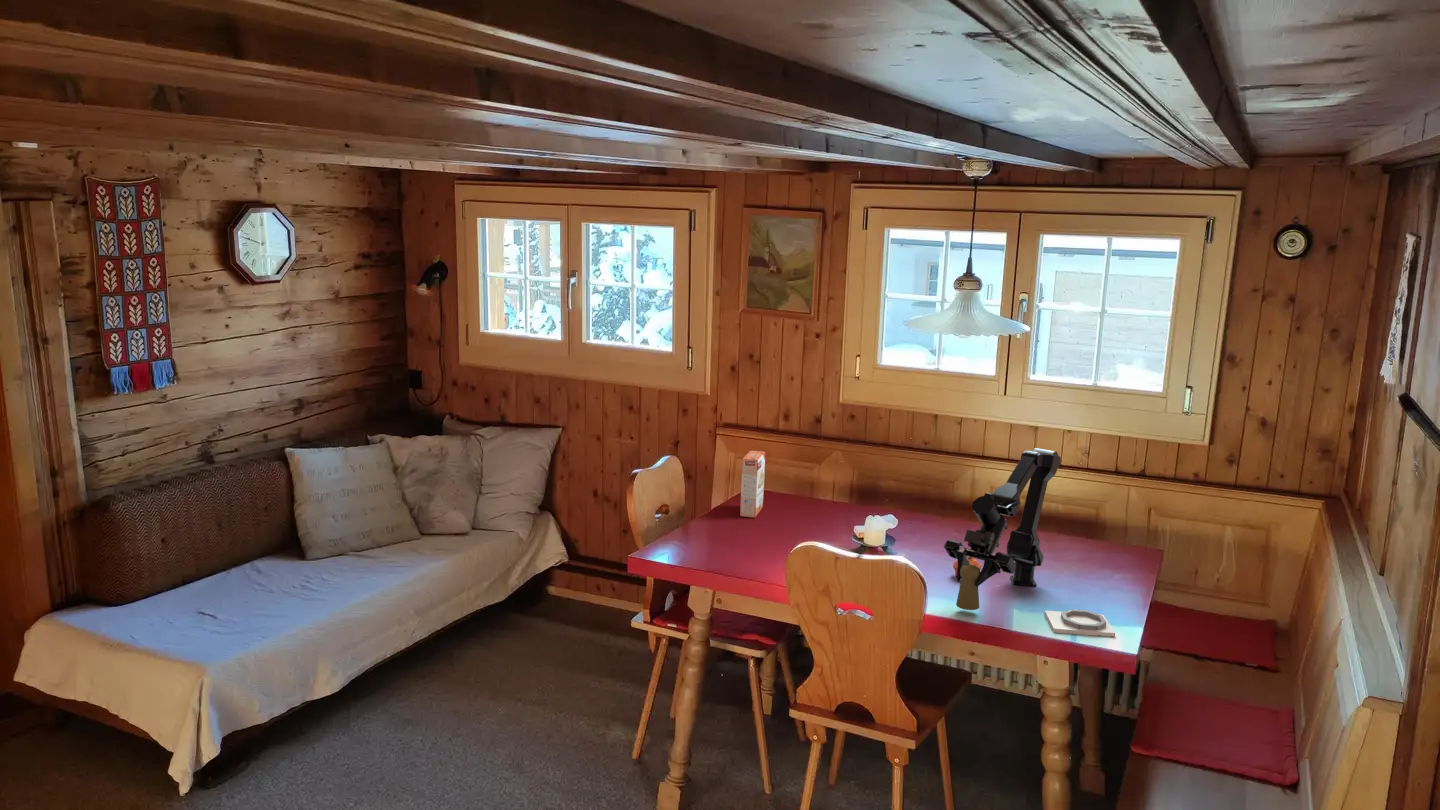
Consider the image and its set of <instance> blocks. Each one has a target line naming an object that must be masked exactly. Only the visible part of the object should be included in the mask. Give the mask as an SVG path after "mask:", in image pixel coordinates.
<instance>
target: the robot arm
mask: <svg viewBox="0 0 1440 810" xmlns="http://www.w3.org/2000/svg"><path fill="white" fill-rule="evenodd" d="M1061 461H1062V460H1061V456H1060V455H1059V454H1058V452H1057V451H1055V450H1049V449H1044V448H1038V447H1034V449H1033V450H1024V451H1023V452H1021V456H1020V459H1019V461H1018V462H1017V464H1016V466H1015V467H1014V469H1013V471H1012V472H1011V474H1010V475H1009V477H1008V478H1007V481H1006V482H1005V483H1004V484H1003V485H1001V486H998V487H997V488H995V490H994V491H993V492H992V493H989V492H984V494H983V496H978V497H977V498H976V499H975V500H973V502H972V505H971V507H972V510H973V512H974V514H975V515H976V518H977V519H978V521H979V522H980V524H981V526H980V528H979V529H975V530H970V529H966V531H965V533H964V538H963V542H967V546H968V547H969V548H966V547H965V546H964V545H963V543H962V542H961V541H958V540H954V539H948V540H946V541H945V543H944V545H943V548H944V549H945V551H946V553H947V554H948V557H950V558H952V559H955V560H956V561H957V560H958V569H957V576H956V581H957V582H961V579H962V577H961V575H960V569H961V567H962V566H964V565H969V564H970V563H969V562H968V560H967V558H968V557H973V558H974V559H975V560H981V561H983V565H982V567H981V569H980V574H979V576H978V578H977V580H976V583H975V586H976V587H978V588H979V586H981V585H982V584H983V583H985V582H986V581H987V580H988V579H990V578H991V577H993V576H994V575H996V574H1001V572H1003V573H1007V574H1011V575H1009V578H1010V580H1011V582H1012V585H1017V586H1027V587H1028V586H1031V587H1037V586H1038V585H1037V582H1036V580H1035V570H1036V567H1041V566H1042V564H1043V562H1044V554H1043V552H1042V550H1041V548H1040V544H1041V540H1040V537H1039V534H1038V531H1037V530H1038V525H1039V521H1040V517H1041V512H1042V509H1043V508H1042V507H1043V505H1044V500H1045V496H1046V491H1047V488H1048V483H1049V481H1050V480H1052V479H1053V477H1055V476H1056V475H1057V471H1058V468H1059V467H1060V466H1061ZM1028 483H1029V485H1028ZM1027 485H1028V489H1027V492H1026V493H1027V494H1026V496H1025V501H1024V505H1023V510H1022V513H1021V518H1020V522H1019V526H1018V527H1017V528H1016V529H1015V530H1012V531H1011V532H1010V535H1009V540H1008V541H1007V544H1006V553H1003V552H1001V551H997V552H996V553H995V555H993V554H994V552H995V551H996V548H999V547H1000V543H999V542H1000V539H1001V537H1002V534H1003V532H1004V530H1008V529H1009V528H1008V525H1009V524H1008V522H1007V519H1006V518H1005V517H1004V516H1006V517H1014V516H1015V515H1016V514H1017V513H1018V512H1019V510H1020V506H1021V504H1022V503H1021V498H1020V497H1021V494H1023V493H1022V492H1023V491H1024V489H1025V487H1026V486H1027Z"/></svg>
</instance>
